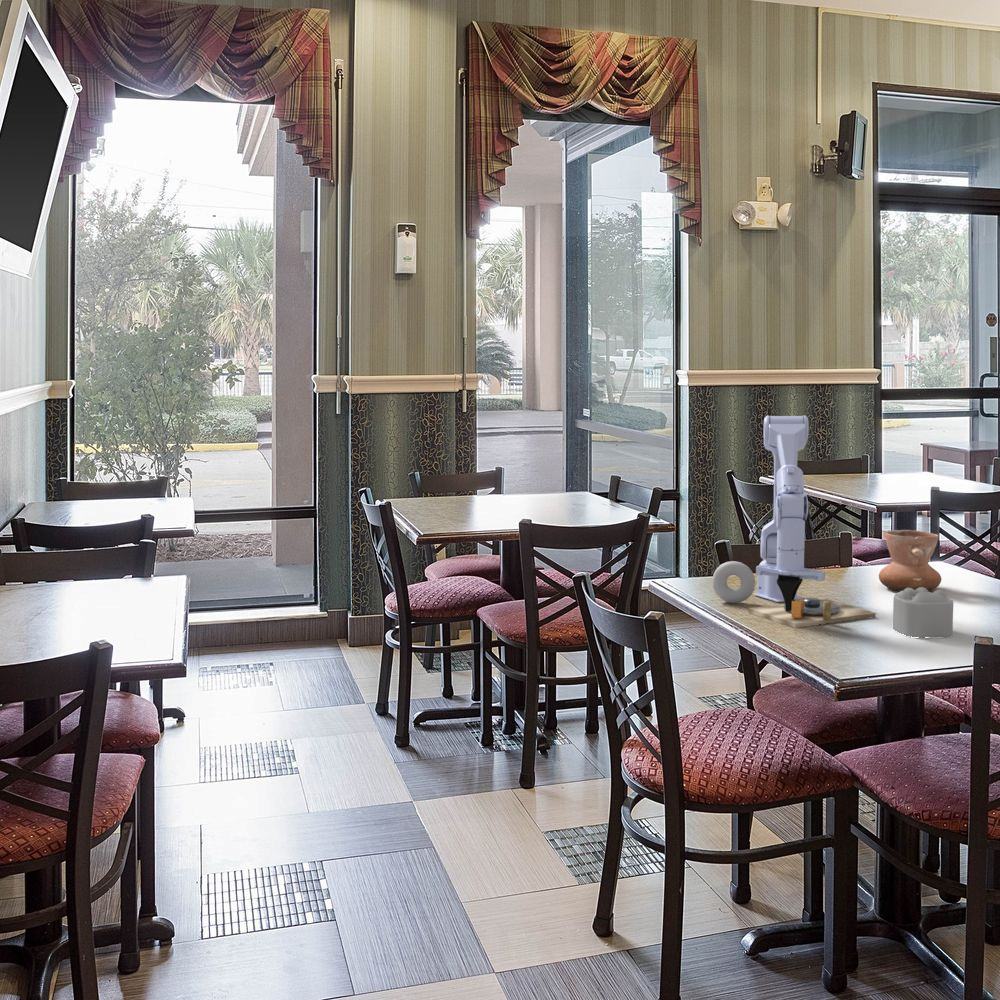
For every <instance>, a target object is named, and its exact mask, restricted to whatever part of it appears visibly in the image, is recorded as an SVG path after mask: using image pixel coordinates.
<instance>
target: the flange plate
mask: <svg viewBox="0 0 1000 1000" xmlns="http://www.w3.org/2000/svg"><path fill="white" fill-rule="evenodd" d="M820 600H821V599H819V598H816V597H805V598H804V599H803V600H801V599H794V600H792V610H791V611H788V612H791V617H794V618H802V617H804V616H806V615H823V602H824V601H820ZM783 604H784V610H786V607H785V606H786V605H785V602H783ZM839 611H840V606H838V605H837V604H834V603H831V615H832V614H836V613H838V612H839Z"/></svg>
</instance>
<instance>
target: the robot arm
mask: <svg viewBox="0 0 1000 1000" xmlns="http://www.w3.org/2000/svg"><path fill="white" fill-rule="evenodd" d="M809 426H810V425H809V418H808V416H807V415H772V416H771V415H766V416H765V417H764V419H763V446H764V450H767V451H769V452H771V454H772V456H773V462H774V464H773V465H774V466H773V514H772V515H773V518H772V520H771V521H769V522H768V523H766V524H765V525H763V527H762V529H761V532H760V533H761V535H760V558H761V559H762V561H761V562H760V563H759V565H757V566H756V567H755V575H756V577H757V578H756V592H753V596H756V597H760V598H761V599H762V598H763V599H765V600H770V601H772V602H775V603H785V605H786V606H785V607H786V611H791V610H792V600H794V599H801V600H803V599H804V598H806V597H804V596H801V595H798V593H797V592H798V591H799V587H800V586H801V584H802V582H803V580H811V581H817V582H824V581H825V580H826V571H825V570H818V569H811V568H806V567H805V541H806V540H805V537H806V536H805V534H806V531H805V530H806V521H807V518H808V514H809V500H808V499H809V498H808V494H807V490H806V489H805V486H804V485H805V483H804V472H803V470H802V469H801V468H800V467H799V466H798V456H799V455H798V452H799V451H801V450H802V451H803V450H804V449H805V446H806V445H807V442H808V439H809V432H810V431H809V430H810V429H809Z"/></svg>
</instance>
